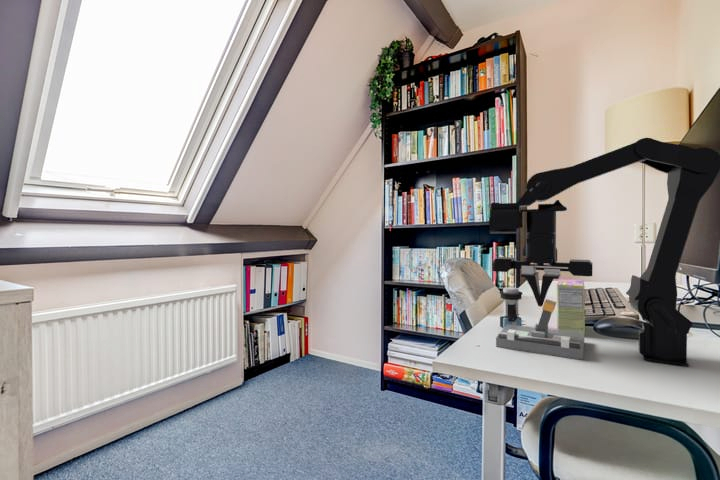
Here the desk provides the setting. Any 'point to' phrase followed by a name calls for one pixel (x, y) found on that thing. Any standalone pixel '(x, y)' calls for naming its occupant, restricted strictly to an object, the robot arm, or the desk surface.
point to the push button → (510, 307)
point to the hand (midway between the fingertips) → (540, 306)
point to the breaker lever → (546, 315)
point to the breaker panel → (542, 341)
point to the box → (571, 306)
